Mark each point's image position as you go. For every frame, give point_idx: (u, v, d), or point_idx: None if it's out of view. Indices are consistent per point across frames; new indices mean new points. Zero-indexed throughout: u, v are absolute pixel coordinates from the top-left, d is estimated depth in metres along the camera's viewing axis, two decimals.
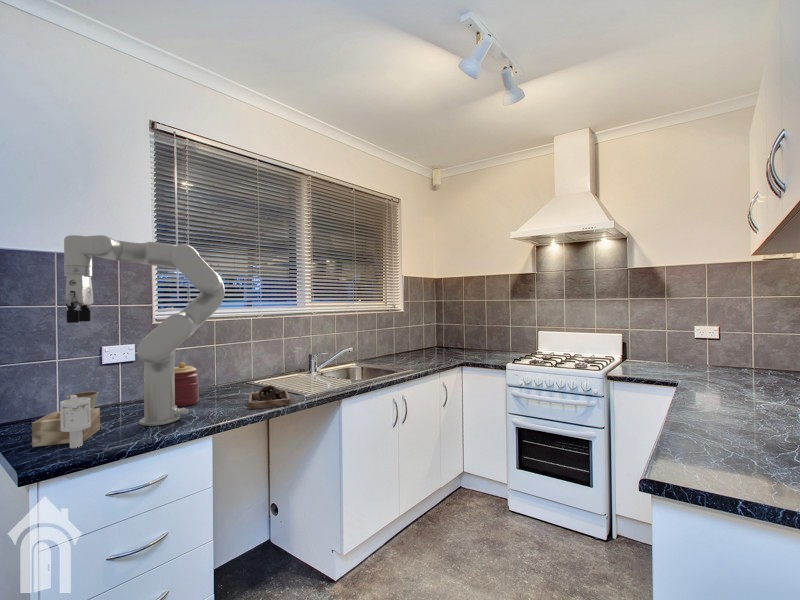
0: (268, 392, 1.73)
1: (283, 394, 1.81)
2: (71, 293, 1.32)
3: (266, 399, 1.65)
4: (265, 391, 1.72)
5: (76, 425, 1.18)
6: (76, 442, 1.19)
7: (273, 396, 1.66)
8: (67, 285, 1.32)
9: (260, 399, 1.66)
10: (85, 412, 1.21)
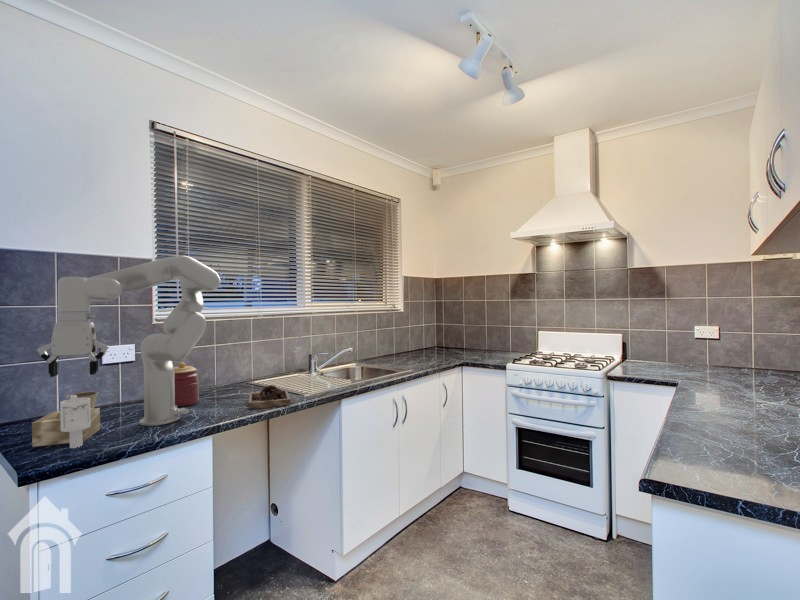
0: (269, 392, 1.74)
1: (283, 394, 1.81)
2: (98, 342, 1.22)
3: (268, 399, 1.66)
4: (266, 391, 1.73)
5: (76, 425, 1.18)
6: (76, 442, 1.19)
7: (275, 396, 1.67)
8: (90, 333, 1.21)
9: (262, 399, 1.66)
10: (85, 412, 1.21)
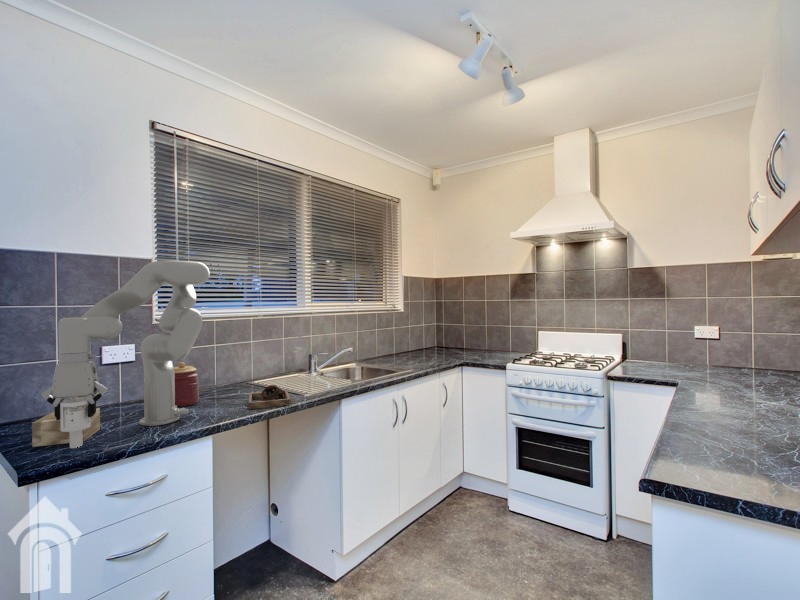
0: (271, 392, 1.74)
1: (283, 394, 1.81)
2: (98, 383, 1.23)
3: (269, 399, 1.66)
4: (268, 391, 1.73)
5: (76, 425, 1.18)
6: (76, 442, 1.19)
7: (276, 396, 1.67)
8: (92, 374, 1.21)
9: (263, 399, 1.67)
10: (85, 412, 1.21)
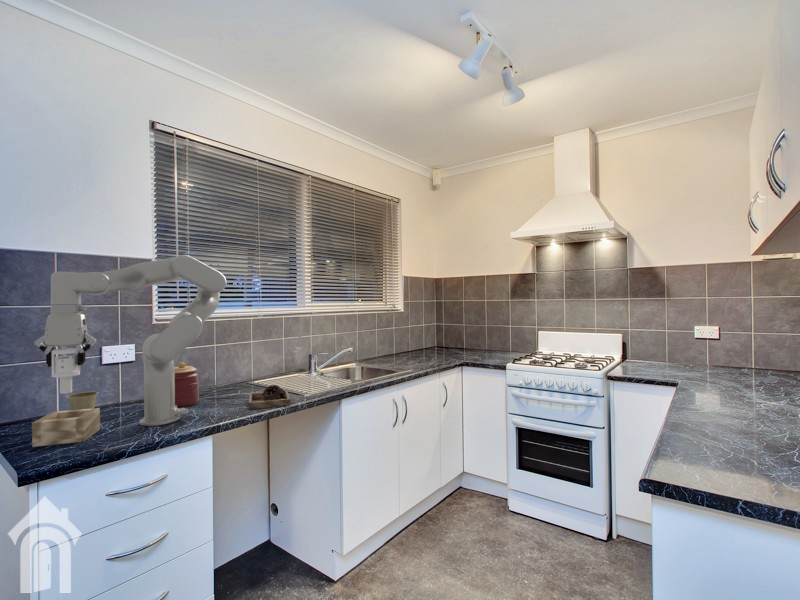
0: (272, 392, 1.74)
1: None
2: (88, 334, 1.31)
3: (271, 399, 1.66)
4: (269, 391, 1.73)
5: (66, 372, 1.27)
6: (66, 388, 1.28)
7: (278, 396, 1.67)
8: (81, 325, 1.29)
9: (265, 399, 1.67)
10: (75, 360, 1.29)
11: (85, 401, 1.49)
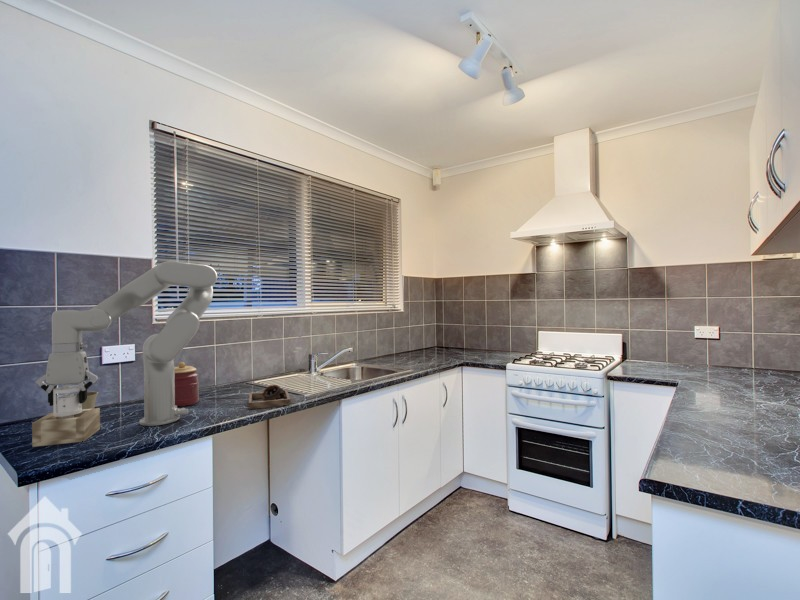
0: (272, 392, 1.74)
1: None
2: (89, 371, 1.31)
3: (271, 399, 1.66)
4: (269, 391, 1.73)
5: (68, 410, 1.27)
6: None
7: (278, 396, 1.67)
8: (83, 363, 1.29)
9: (265, 399, 1.67)
10: (76, 399, 1.29)
11: (85, 401, 1.49)
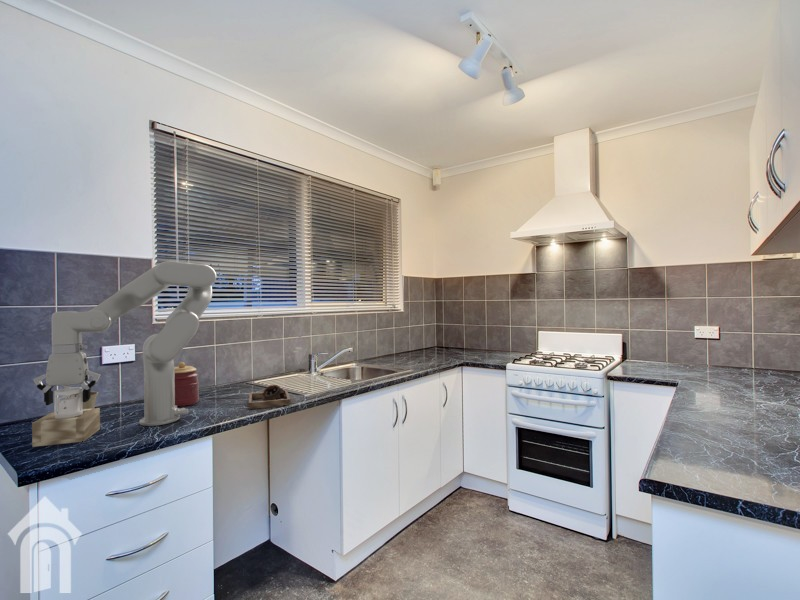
0: (272, 392, 1.74)
1: None
2: (90, 371, 1.31)
3: (271, 399, 1.66)
4: (269, 391, 1.73)
5: (69, 412, 1.27)
6: None
7: (278, 396, 1.67)
8: (83, 364, 1.29)
9: (265, 399, 1.67)
10: (77, 400, 1.29)
11: None
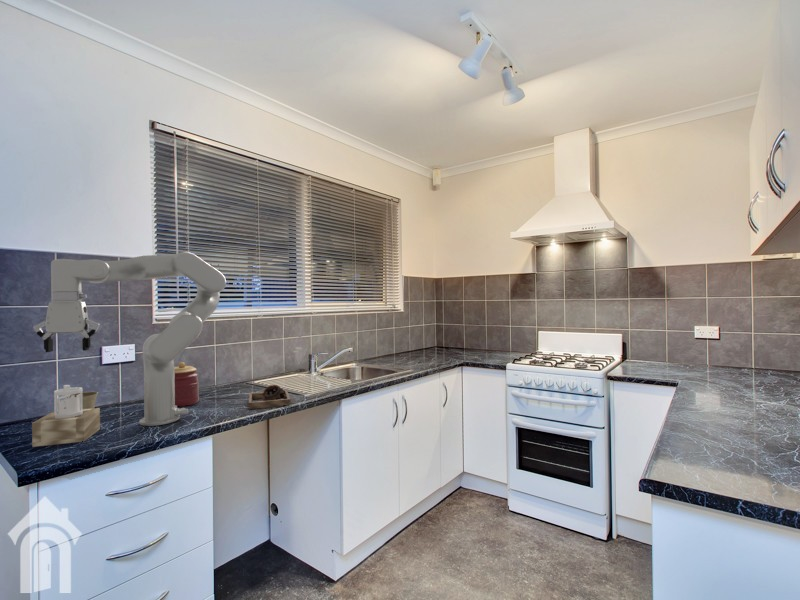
0: (272, 392, 1.74)
1: None
2: (89, 320, 1.31)
3: (271, 399, 1.66)
4: (269, 391, 1.73)
5: (69, 412, 1.27)
6: None
7: (278, 396, 1.67)
8: (82, 312, 1.29)
9: (265, 399, 1.67)
10: (77, 400, 1.29)
11: (85, 401, 1.49)
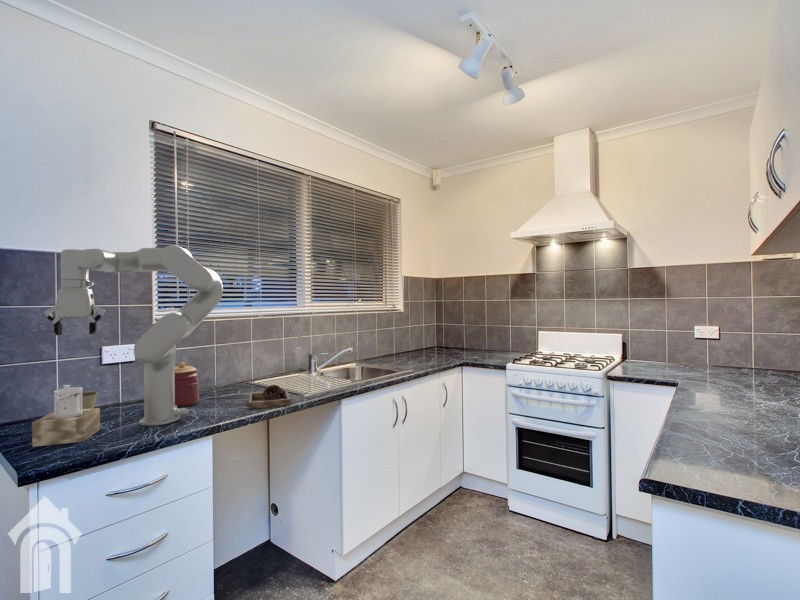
0: (272, 392, 1.74)
1: None
2: (96, 306, 1.42)
3: (271, 399, 1.66)
4: (269, 391, 1.73)
5: (69, 412, 1.27)
6: None
7: (278, 396, 1.67)
8: (89, 298, 1.40)
9: (265, 399, 1.67)
10: (77, 400, 1.29)
11: (85, 401, 1.49)
